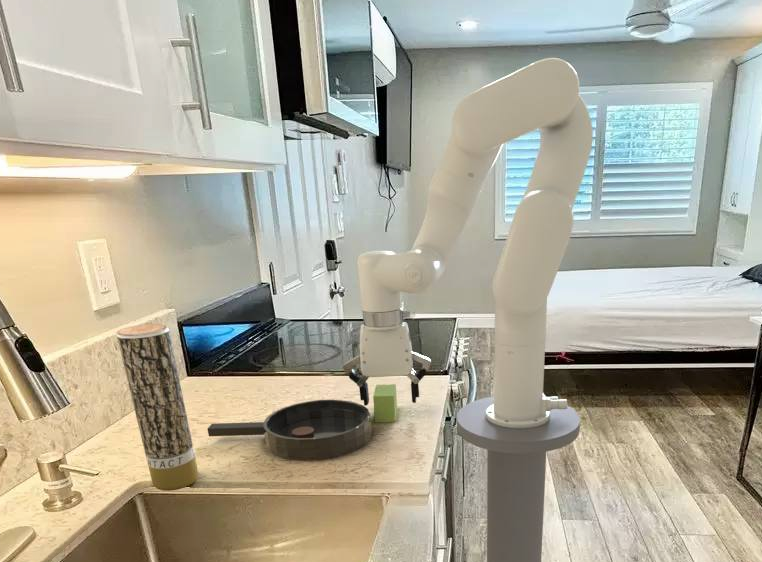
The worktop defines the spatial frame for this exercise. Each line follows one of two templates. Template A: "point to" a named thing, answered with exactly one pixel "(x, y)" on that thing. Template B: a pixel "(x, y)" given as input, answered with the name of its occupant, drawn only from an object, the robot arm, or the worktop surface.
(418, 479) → the worktop surface
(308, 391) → the worktop surface
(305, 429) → the brown disc
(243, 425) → the pan handle
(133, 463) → the worktop surface
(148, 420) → the paper tube
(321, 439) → the pan
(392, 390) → the sponge
